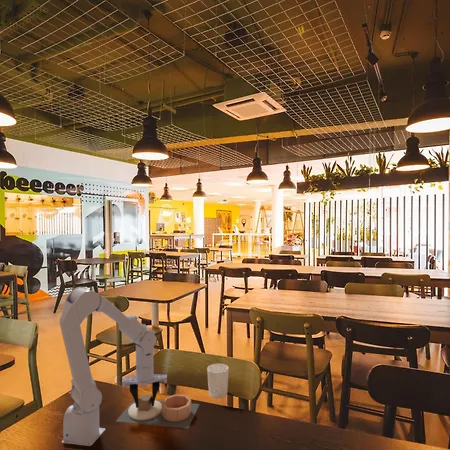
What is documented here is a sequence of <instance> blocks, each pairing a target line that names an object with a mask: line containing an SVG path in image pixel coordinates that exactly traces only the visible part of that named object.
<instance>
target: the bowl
mask: <svg viewBox="0 0 450 450" xmlns="http://www.w3.org/2000/svg"><path fill="white" fill-rule="evenodd" d="M162 401H163V402H162V416H163V418H164V419H165V420H167V421H170V422H179V421H183V420H185V419H187V418H188V417H189V416H190V413H191V403H192V399H191V398H190V397H189V396H187V395H186V394H173V395H170V396H167V397H165V398H164V400H162Z"/></svg>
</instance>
